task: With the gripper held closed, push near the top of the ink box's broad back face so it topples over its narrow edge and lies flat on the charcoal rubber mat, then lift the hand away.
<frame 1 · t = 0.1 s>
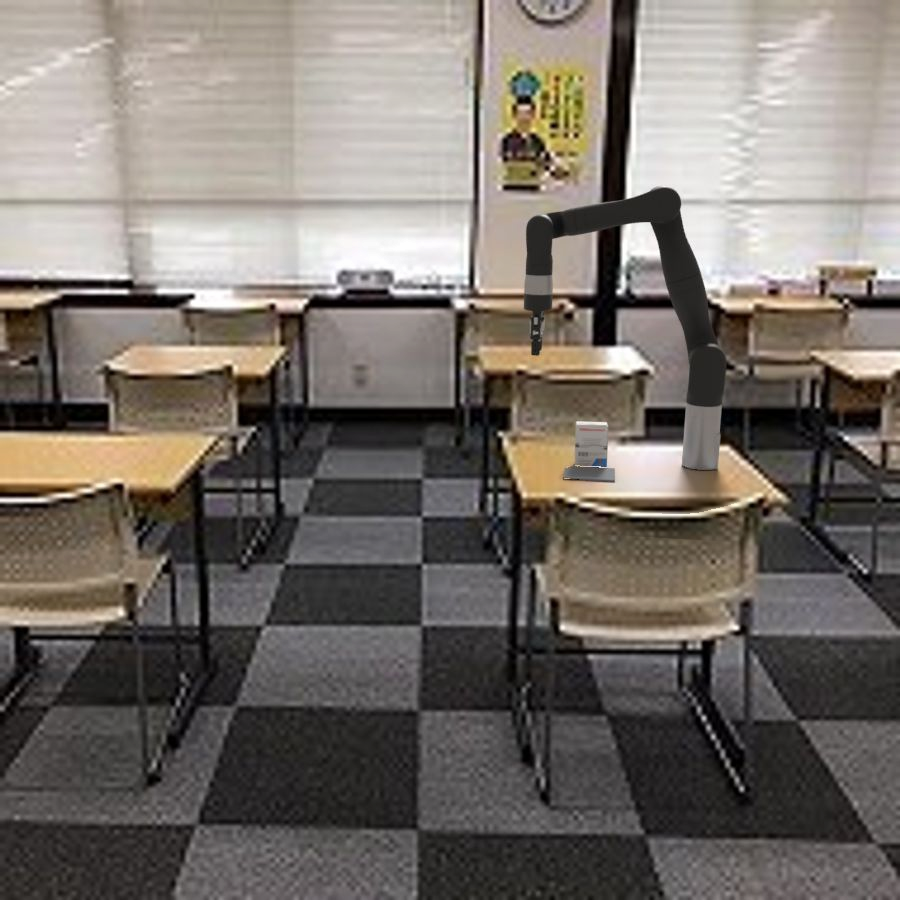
hand: (536, 352, 280), 29 cm above the table, tool pointing down, fingers open, 8 cm apart
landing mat: (589, 474, 272), on the table
ink box: (590, 466, 280), on the table
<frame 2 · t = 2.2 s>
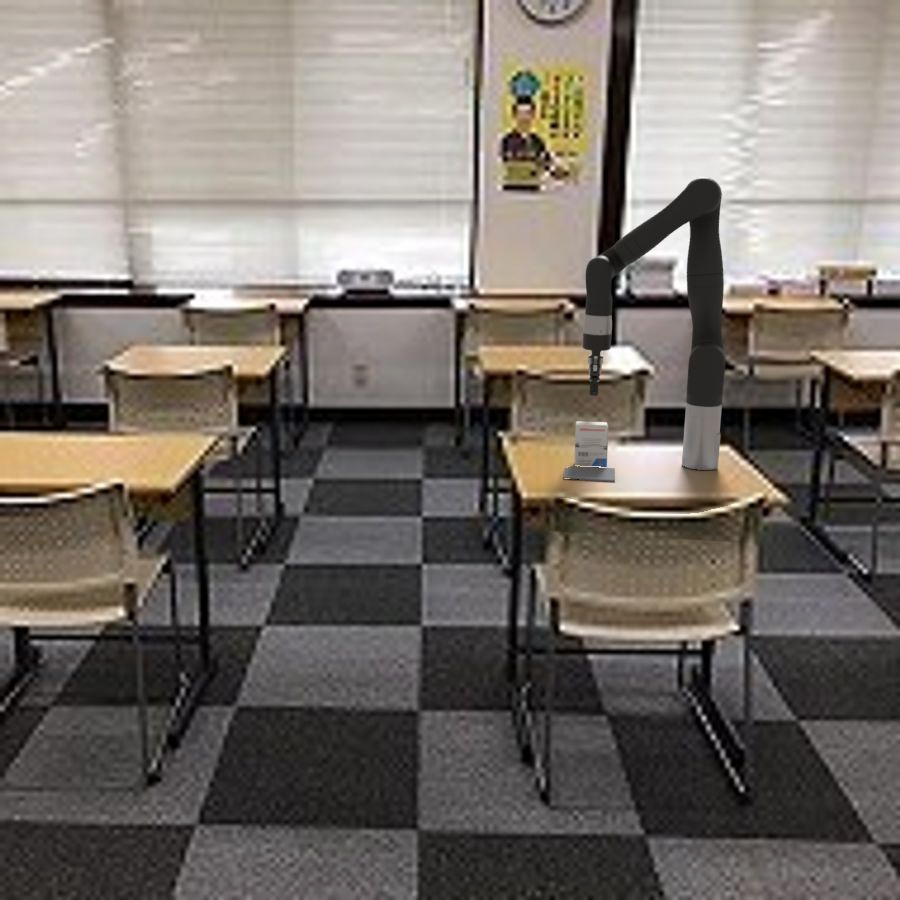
hand: (593, 394, 285), 17 cm above the table, tool pointing down, fingers closed
nothing on the table moved.
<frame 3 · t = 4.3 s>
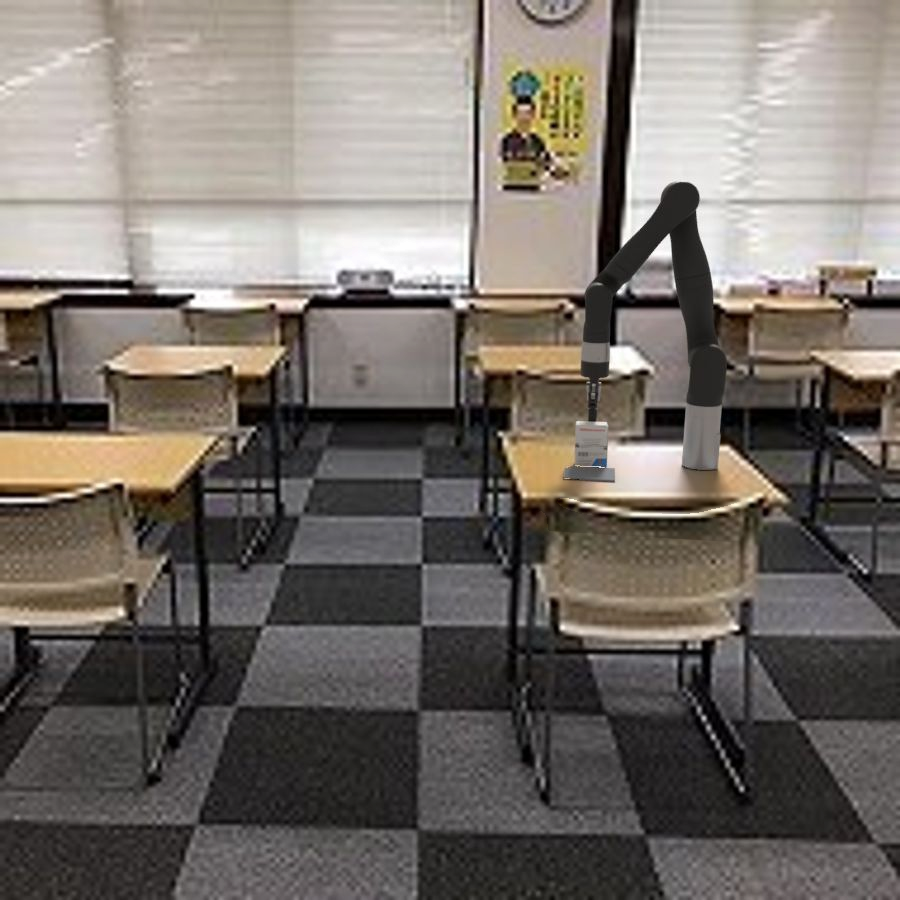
hand: (592, 422, 281), 11 cm above the table, tool pointing down, fingers closed
ink box: (590, 466, 280), on the table, touching gripper
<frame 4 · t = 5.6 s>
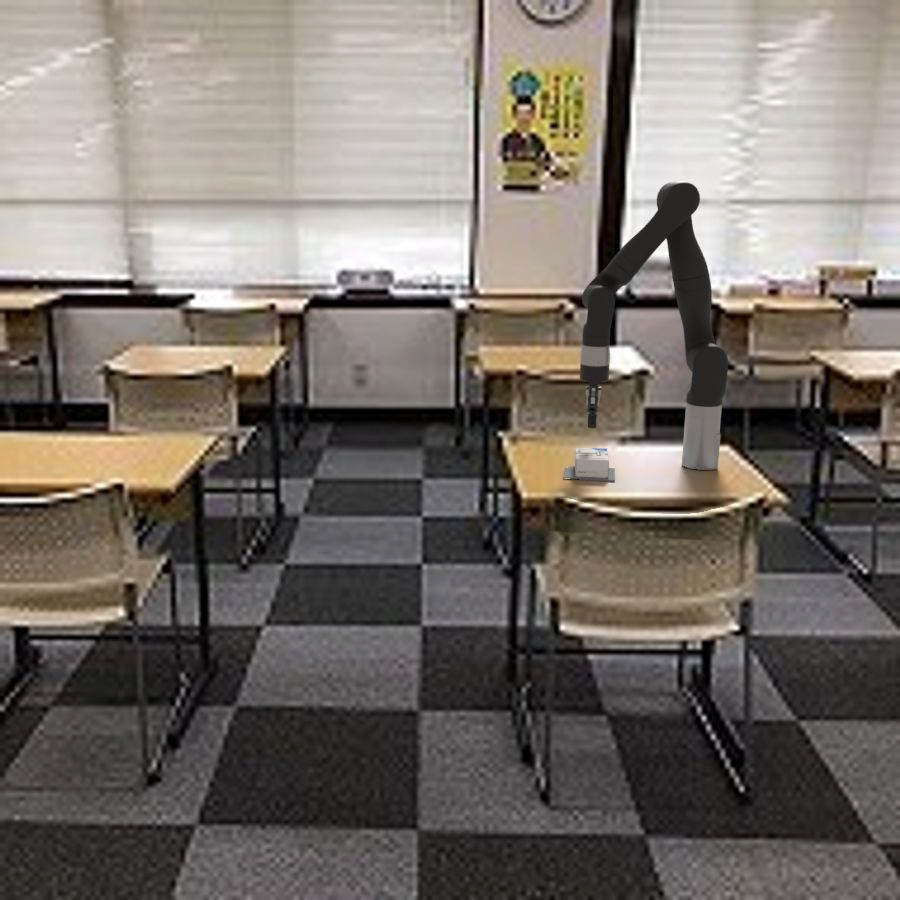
hand: (591, 427, 275), 11 cm above the table, tool pointing down, fingers closed
ink box: (590, 456, 278), point 3 cm above the table, touching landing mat
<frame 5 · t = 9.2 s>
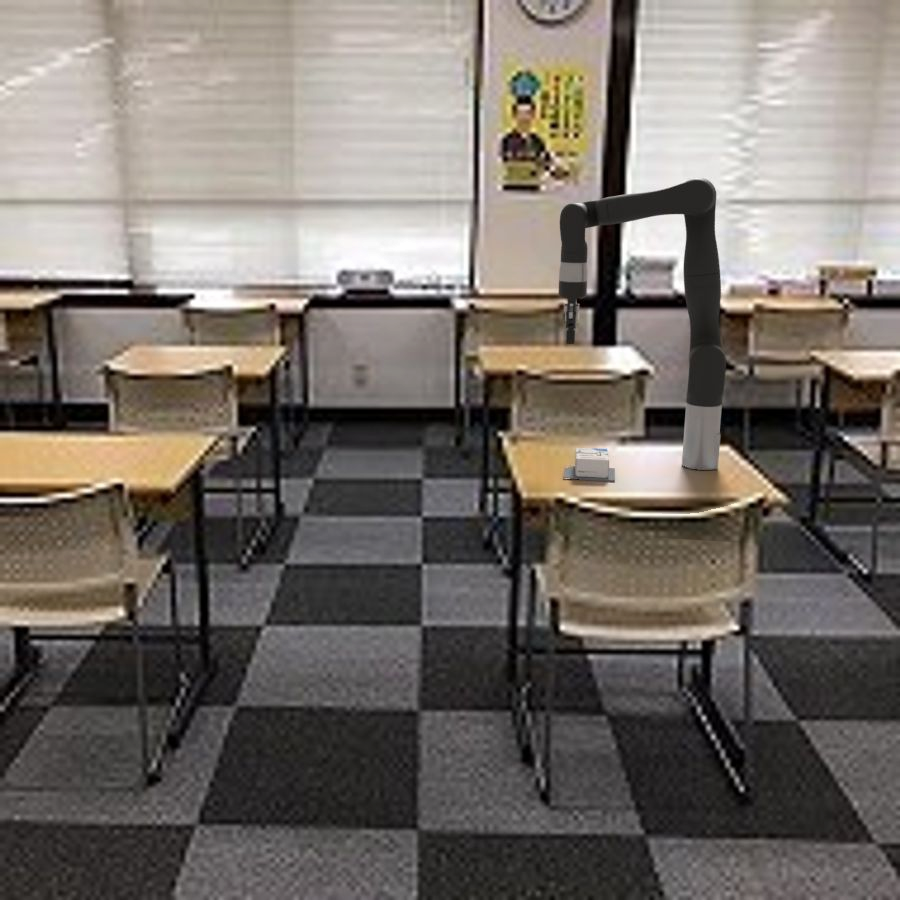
hand: (570, 343, 284), 31 cm above the table, tool pointing down, fingers closed
nothing on the table moved.
at the end: ink box tilted 89°; ink box touching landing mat; ink box inside the target area (1.1 cm from its centre), point 2.9 cm above the table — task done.
